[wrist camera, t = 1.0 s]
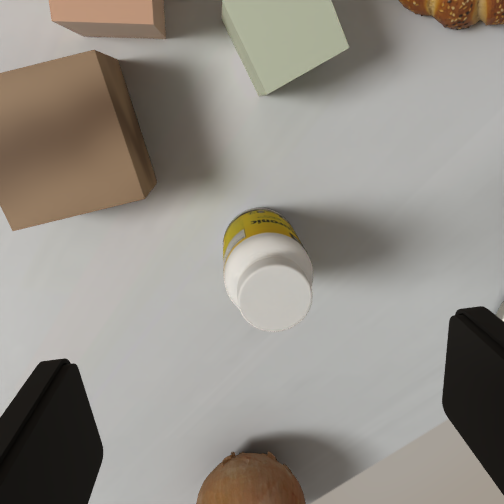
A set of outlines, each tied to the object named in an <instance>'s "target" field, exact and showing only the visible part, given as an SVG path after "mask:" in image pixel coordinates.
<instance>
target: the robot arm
mask: <svg viewBox="0 0 504 504" xmlns="http://www.w3.org/2000/svg"><path fill="white" fill-rule="evenodd" d="M442 404H443V408H444V411H445V413H446V415H447V417H448V418H449V420H450V421H451V422H452V424H453V425H454V427H455V428H456V429H457V430H458V432H459V433H460V435H461V436H462V438H463V439H464V441H465V442H466V443H467V445H468V446H469V448H470V449H471V450H472V452H473V453H474V454H475V456H476V457H477V459H478V460H479V461H480V463H481V464H482V466H483V467H484V468H485V470H486V471H487V472H488V474H489V475H490V477H491V478H492V480H493V481H494V482H495V484H496V485H497V486H498V488H499V489H500V491H501V492H502V494H503V495H504V301H503V303H502V304H501V306H500V308H499V310H498V312H497V314H496V315H495V314H493V313H492V312H491V311H489V310H488V309H487V308H485V307H481V306H480V307H472V308H464V309H459V310H457V312H456V314H455V316H452V317H451V318H450V321H449V331H448V342H447V353H446V364H445V375H444V386H443V397H442ZM102 459H103V446H102V442H101V439H100V436H99V433H98V429H97V426H96V423H95V420H94V417H93V413H92V410H91V407H90V404H89V401H88V398H87V394H86V391H85V388H84V385H83V382H82V379H81V375H80V372H79V369H78V367H77V365H76V364H71V363H70V361H69V360H68V359H57V360H49V361H43V362H40V363H39V364H38V365H37V367H36V368H35V370H34V371H33V372H32V374H31V375H30V377H29V378H28V379H27V381H26V382H25V384H24V385H23V386H22V388H21V389H20V391H19V392H18V393H17V395H16V396H15V398H14V399H13V400H12V402H11V403H10V405H9V406H8V408H7V409H6V410H5V412H4V413H3V415H2V416H1V417H0V504H88V502H89V499H90V496H91V493H92V490H93V487H94V484H95V481H96V478H97V475H98V472H99V469H100V466H101V463H102Z"/></svg>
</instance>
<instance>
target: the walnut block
mask: <svg viewBox="0 0 504 504" xmlns="http://www.w3.org/2000/svg"><path fill="white" fill-rule="evenodd" d="M156 184H157V180H156V177H155V174H154V171H153V168H152V164H151V161H150V158H149V155H148V152H147V149H146V146H145V143H144V140H143V136H142V133H141V130H140V127H139V124H138V121H137V118H136V115H135V111H134V108H133V105H132V102H131V99H130V96H129V93H128V90H127V86H126V83H125V80H124V77H123V74H122V71H121V68H120V65H119V61H118V60H117V59H115V58H113V57H110V56H108V55H106V54H103V53H101V52H98V51H96V50H91V51H87V52H83V53H79V54H75V55H71V56H67V57H63V58H59V59H55V60H51V61H47V62H43V63H39V64H35V65H31V66H27V67H23V68H19V69H15V70H11V71H7V72H3V73H0V206H1V208H2V210H3V212H4V214H5V216H6V218H7V220H8V222H9V224H10V226H11V229H12V231H15V230H19V229H24V228H28V227H32V226H36V225H40V224H44V223H48V222H52V221H56V220H60V219H64V218H69V217H73V216H77V215H81V214H85V213H89V212H93V211H97V210H101V209H105V208H109V207H114V206H118V205H122V204H126V203H130V202H134V201H138V200H142V199H145V198H146V197H147V195H148V194H149V193H150V191H151V190H152V189H153V188H154V186H155V185H156Z"/></svg>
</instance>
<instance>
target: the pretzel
mask: <svg viewBox="0 0 504 504" xmlns="http://www.w3.org/2000/svg"><path fill="white" fill-rule="evenodd" d="M399 1H400V3H402V5H403V6H404V7H405V8H407V9H409V10H410V11H412V12H414V13H415V14H421V16H423V15H427V16H428V15H430V16H431V15H433V17H434V18H435V19H436V20H437V21H438V22H440V23H441V24H442V25H443V26H444V27H445V28H446V27H448V28H451V29H457V30H458V29H461V28H469V26H470V25H474V24H476V23H477V22H478V21H479V20H482V21H483V22H484V23H485V24H486V25H499V24H504V0H399Z"/></svg>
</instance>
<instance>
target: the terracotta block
mask: <svg viewBox="0 0 504 504" xmlns="http://www.w3.org/2000/svg"><path fill="white" fill-rule="evenodd" d="M49 5H50V12H51V19H52V21H53V22H55V23H57V24H59V25H61V26H63V27H65V28H67V29H69V30H71V31H73V32H75V33H77V34H80V35H82V36H84V37H115V38H148V39H166V32H165V13H164V0H49Z"/></svg>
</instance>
